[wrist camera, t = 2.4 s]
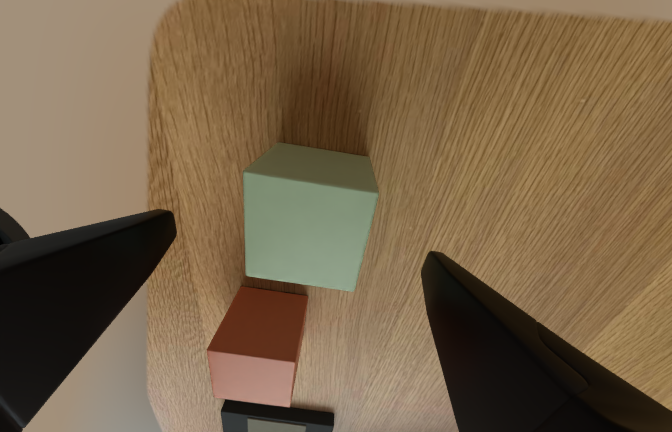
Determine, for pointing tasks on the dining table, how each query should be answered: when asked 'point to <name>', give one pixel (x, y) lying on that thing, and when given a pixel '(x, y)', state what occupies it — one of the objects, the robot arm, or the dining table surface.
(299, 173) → the pale green cube
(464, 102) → the dining table surface
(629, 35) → the dining table surface
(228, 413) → the word board
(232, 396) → the reddish brown cube
